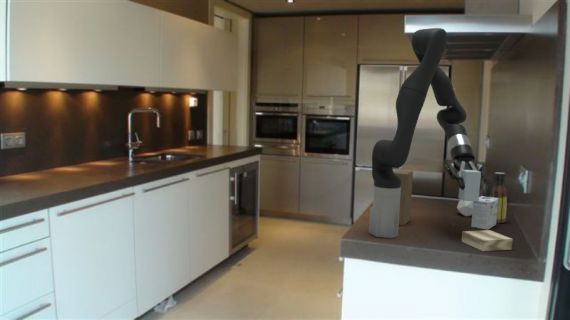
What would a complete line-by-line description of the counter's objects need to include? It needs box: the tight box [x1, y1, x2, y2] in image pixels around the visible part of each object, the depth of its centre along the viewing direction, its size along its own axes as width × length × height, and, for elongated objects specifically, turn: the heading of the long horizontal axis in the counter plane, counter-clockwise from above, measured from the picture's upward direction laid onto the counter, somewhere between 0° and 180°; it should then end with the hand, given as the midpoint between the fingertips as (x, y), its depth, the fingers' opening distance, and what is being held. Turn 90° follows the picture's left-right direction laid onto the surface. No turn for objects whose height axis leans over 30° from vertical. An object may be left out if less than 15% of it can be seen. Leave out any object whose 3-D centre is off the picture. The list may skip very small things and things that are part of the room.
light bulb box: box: [470, 195, 498, 230], centre depth 189 cm, size 11×7×11 cm, turn 142°
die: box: [456, 199, 473, 217], centre depth 207 cm, size 8×9×10 cm
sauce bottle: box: [489, 171, 508, 224], centre depth 196 cm, size 7×6×20 cm
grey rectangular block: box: [458, 170, 481, 201], centre depth 169 cm, size 5×5×10 cm
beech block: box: [461, 229, 514, 252], centre depth 163 cm, size 11×11×4 cm
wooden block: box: [393, 168, 414, 227], centre depth 191 cm, size 10×10×20 cm
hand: (471, 188), depth 167 cm, fingers closed on grey rectangular block, 5 cm apart
